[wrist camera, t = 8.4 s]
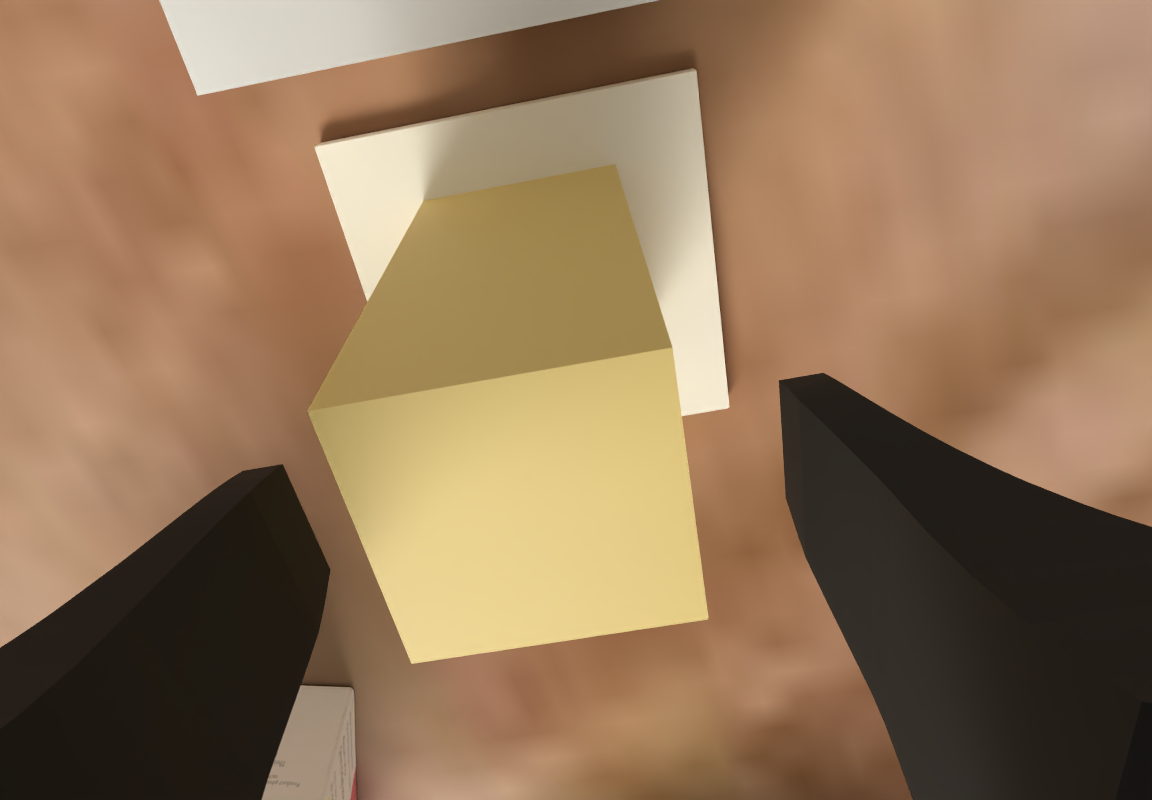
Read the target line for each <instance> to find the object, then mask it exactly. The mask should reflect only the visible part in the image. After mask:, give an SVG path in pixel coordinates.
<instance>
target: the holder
mask: <svg viewBox="0 0 1152 800" xmlns="http://www.w3.org/2000/svg"><path fill="white" fill-rule="evenodd" d="M159 1H160V3H161V5H162V8H163V10H164V13H165V15H166V18H167V20H168V23H169V25H170V28H171V30H172V33H173V35H174V38H175V40H176V43H177V45H178V48H179V50H180V53H181V55H182V58H183V60H184V63H185V65H186V68H187V70H188V73H189V75H190V78H191V80H192V83H193V85H194V87H195V90H196V92H197V95H203V94H208V93H213V92H218V91H222V90H227V89H232V88H237V87H242V86H247V85H251V84H256V83H261V82H266V81H271V80H276V79H281V78H285V77H290V76H295V75H300V74H305V73H310V72H314V71H319V70H324V69H329V68H334V67H339V66H343V65H348V64H353V63H358V62H363V61H368V60H372V59H377V58H382V57H387V56H392V55H397V54H401V53H406V52H411V51H416V50H421V49H426V48H430V47H435V46H440V45H445V44H450V43H455V42H460V41H464V40H469V39H474V38H479V37H484V36H489V35H493V34H498V33H503V32H508V31H513V30H518V29H522V28H527V27H532V26H537V25H542V24H547V23H551V22H556V21H561V20H566V19H571V18H576V17H580V16H585V15H590V14H595V13H600V12H605V11H610V10H614V9H619V8H624V7H629V6H634V5H639V4H643V3H648V2H653V1H658V0H159Z"/></svg>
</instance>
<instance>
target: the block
mask: <svg viewBox="0 0 1152 800" xmlns="http://www.w3.org/2000/svg"><path fill="white" fill-rule="evenodd" d="M307 412H308V414H309V417H310V419H311V422H312V424H313V426H314V429H315V431H316V434H317V436H318V438H319V441H320V443H321V446H322V448H323V451H324V453H325V455H326V458H327V460H328V463H329V465H330V468H331V470H332V472H333V475H334V477H335V480H336V482H337V484H338V487H339V489H340V492H341V494H342V497H343V499H344V501H345V504H346V506H347V509H348V511H349V513H350V516H351V518H352V521H353V523H354V526H355V528H356V530H357V533H358V535H359V538H360V540H361V543H362V545H363V547H364V550H365V552H366V555H367V557H368V559H369V562H370V564H371V567H372V569H373V572H374V574H375V576H376V579H377V581H378V584H379V586H380V588H381V591H382V593H383V596H384V598H385V601H386V603H387V605H388V608H389V610H390V613H391V615H392V618H393V620H394V622H395V625H396V627H397V630H398V632H399V634H400V637H401V639H402V642H403V644H404V647H405V649H406V651H407V654H408V656H409V659H410V661H411V663H412V664H414V663H420V662H427V661H434V660H440V659H447V658H454V657H460V656H467V655H474V654H480V653H487V652H493V651H500V650H507V649H513V648H520V647H527V646H533V645H540V644H547V643H553V642H560V641H567V640H573V639H580V638H587V637H593V636H600V635H607V634H613V633H620V632H627V631H633V630H640V629H647V628H653V627H660V626H667V625H673V624H680V623H686V622H693V621H700V620H706V619H708V612H707V604H706V597H705V589H704V582H703V574H702V567H701V559H700V551H699V544H698V536H697V529H696V521H695V514H694V506H693V498H692V491H691V483H690V476H689V468H688V461H687V453H686V445H685V438H684V430H683V423H682V415H681V408H680V400H679V393H678V385H677V377H676V370H675V362H674V355H673V347H672V344H671V341H670V338H669V335H668V331H667V328H666V325H665V322H664V319H663V315H662V312H661V309H660V306H659V303H658V299H657V296H656V293H655V290H654V287H653V283H652V280H651V277H650V274H649V271H648V268H647V264H646V261H645V258H644V255H643V252H642V248H641V245H640V242H639V239H638V236H637V232H636V229H635V226H634V223H633V220H632V216H631V213H630V210H629V207H628V204H627V200H626V197H625V194H624V191H623V188H622V184H621V181H620V178H619V175H618V172H617V169H616V165H615V164H613V165H608V166H603V167H598V168H592V169H587V170H582V171H577V172H571V173H566V174H561V175H556V176H550V177H545V178H540V179H535V180H530V181H524V182H519V183H514V184H509V185H503V186H498V187H493V188H488V189H482V190H477V191H472V192H467V193H461V194H456V195H451V196H446V197H441V198H435V199H430V200H425V201H423V202H422V204H421V206H420V208H419V209H418V211H417V213H416V215H415V217H414V219H413V220H412V222H411V224H410V226H409V228H408V229H407V231H406V233H405V235H404V237H403V238H402V240H401V242H400V244H399V246H398V248H397V249H396V251H395V253H394V255H393V257H392V258H391V260H390V262H389V264H388V266H387V267H386V269H385V271H384V273H383V275H382V277H381V278H380V280H379V282H378V284H377V286H376V287H375V289H374V291H373V293H372V295H371V296H370V298H369V300H368V302H367V304H366V306H365V307H364V309H363V311H362V313H361V315H360V316H359V318H358V320H357V322H356V324H355V325H354V327H353V329H352V331H351V333H350V334H349V336H348V338H347V340H346V342H345V344H344V345H343V347H342V349H341V351H340V353H339V354H338V356H337V358H336V360H335V362H334V363H333V365H332V367H331V369H330V371H329V373H328V374H327V376H326V378H325V380H324V382H323V383H322V385H321V387H320V389H319V391H318V392H317V394H316V396H315V398H314V400H313V402H312V403H311V405H310V407H309V409H308V411H307Z"/></svg>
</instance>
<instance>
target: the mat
mask: <svg viewBox="0 0 1152 800" xmlns="http://www.w3.org/2000/svg"><path fill="white" fill-rule="evenodd" d="M315 150H316V153H317V156H318V159H319V162H320V164H321V167H322V170H323V173H324V176H325V179H326V182H327V185H328V188H329V191H330V194H331V197H332V200H333V202H334V205H335V208H336V211H337V214H338V217H339V220H340V223H341V226H342V229H343V232H344V235H345V238H346V240H347V243H348V246H349V249H350V252H351V255H352V258H353V261H354V264H355V267H356V270H357V273H358V276H359V278H360V281H361V284H362V287H363V290H364V293H365V296H366V299H367V302H368V300H369V298H370V296H371V295H372V293H373V291H374V289H375V287H376V286H377V284H378V282H379V280H380V278H381V277H382V275H383V273H384V271H385V269H386V267H387V266H388V264H389V262H390V260H391V258H392V257H393V255H394V253H395V251H396V249H397V248H398V246H399V244H400V242H401V240H402V238H403V237H404V235H405V233H406V231H407V229H408V228H409V226H410V224H411V222H412V220H413V219H414V217H415V215H416V213H417V211H418V209H419V208H420V206H421V204H422V202H423V201H425V200H430V199H435V198H441V197H446V196H451V195H456V194H461V193H467V192H472V191H477V190H482V189H488V188H493V187H498V186H503V185H509V184H514V183H519V182H524V181H530V180H535V179H540V178H545V177H550V176H556V175H561V174H566V173H571V172H577V171H582V170H587V169H592V168H598V167H603V166H608V165H613V164H615V165H616V169H617V172H618V175H619V178H620V181H621V184H622V188H623V191H624V194H625V197H626V200H627V204H628V207H629V210H630V213H631V216H632V220H633V223H634V226H635V229H636V232H637V236H638V239H639V242H640V245H641V248H642V252H643V255H644V258H645V261H646V264H647V268H648V271H649V274H650V277H651V280H652V283H653V287H654V290H655V293H656V296H657V299H658V303H659V306H660V309H661V312H662V315H663V319H664V322H665V325H666V328H667V331H668V335H669V338H670V341H671V344H672V347H673V355H674V362H675V370H676V377H677V385H678V393H679V400H680V408H681V415H682V416H685V415H691V414H697V413H703V412H708V411H714V410H720V409H726V408H729V398H728V388H727V378H726V368H725V358H724V347H723V337H722V327H721V317H720V306H719V296H718V286H717V276H716V266H715V255H714V245H713V235H712V225H711V214H710V204H709V194H708V184H707V174H706V163H705V153H704V143H703V133H702V122H701V112H700V102H699V92H698V82H697V71H696V70H695V69H694V68H692V69H687V70H682V71H677V72H672V73H667V74H662V75H657V76H652V77H647V78H642V79H637V80H632V81H627V82H622V83H617V84H612V85H607V86H602V87H597V88H592V89H587V90H582V91H577V92H572V93H567V94H562V95H557V96H552V97H547V98H542V99H537V100H532V101H527V102H522V103H517V104H512V105H507V106H502V107H497V108H492V109H487V110H482V111H477V112H472V113H467V114H462V115H457V116H452V117H447V118H442V119H437V120H432V121H427V122H422V123H417V124H412V125H407V126H402V127H397V128H392V129H387V130H382V131H377V132H372V133H367V134H362V135H357V136H352V137H347V138H342V139H337V140H332V141H327V142H322V143H319V144H317V145H316V146H315Z"/></svg>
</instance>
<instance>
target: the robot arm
mask: <svg viewBox="0 0 1152 800" xmlns="http://www.w3.org/2000/svg"><path fill="white" fill-rule="evenodd" d="M779 390H780V406H781V423H782V440H783V457H784V474H785V490H786V500H787V503H788V506H789V509H790V512H791V515H792V518H793V521H794V524H795V527H796V531H797V533H798V536H799V539H800V542H801V545H802V548H803V551H804V554H805V557H806V559H807V561H808V563H809V565H810V568H811V570H812V572H813V574H814V576H815V578H816V580H817V582H818V584H819V586H820V588H821V590H822V592H823V595H824V597H825V599H826V601H827V603H828V605H829V607H830V609H831V611H832V613H833V615H834V617H835V619H836V621H837V623H838V625H839V627H840V629H841V631H842V633H843V635H844V638H845V640H846V642H847V644H848V646H849V648H850V650H851V652H852V654H853V656H854V658H855V660H856V662H857V664H858V666H859V668H860V670H861V672H862V674H863V676H864V678H865V680H866V682H867V684H868V686H869V689H870V691H871V693H872V695H873V697H874V700H875V702H876V704H877V706H878V709H879V711H880V713H881V716H882V718H883V720H884V722H885V725H886V728H887V730H888V733H889V736H890V738H891V741H892V744H893V746H894V749H895V752H896V755H897V757H898V760H899V763H900V765H901V768H902V771H903V774H904V776H905V779H906V782H907V784H908V787H909V790H910V792H911V795H912V798H913V800H1152V527H1150V526H1147V525H1144V524H1140V523H1137V522H1134V521H1131V520H1128V519H1125V518H1121V517H1118V516H1115V515H1112V514H1110V513H1107V512H1104V511H1101V510H1098V509H1095V508H1093V507H1090V506H1087V505H1084V504H1081V503H1079V502H1076V501H1074V500H1071V499H1069V498H1066V497H1064V496H1061V495H1059V494H1056V493H1054V492H1051V491H1049V490H1046V489H1044V488H1041V487H1038V486H1036V485H1033V484H1031V483H1028V482H1026V481H1024V480H1021V479H1019V478H1017V477H1015V476H1012V475H1010V474H1008V473H1005V472H1003V471H1001V470H999V469H997V468H995V467H993V466H990V465H988V464H986V463H984V462H982V461H980V460H978V459H976V458H974V457H972V456H970V455H968V454H966V453H964V452H962V451H960V450H958V449H956V448H954V447H952V446H950V445H948V444H946V443H944V442H942V441H940V440H938V439H937V438H935V437H933V436H931V435H929V434H927V433H925V432H924V431H922V430H920V429H918V428H916V427H915V426H913V425H911V424H909V423H908V422H906V421H904V420H902V419H901V418H899V417H897V416H896V415H894V414H892V413H890V412H889V411H887V410H885V409H884V408H882V407H880V406H879V405H877V404H875V403H874V402H872V401H870V400H869V399H867V398H865V397H864V396H862V395H860V394H859V393H857V392H855V391H854V390H852V389H850V388H849V387H847V386H845V385H844V384H842V383H840V382H839V381H837V380H835V379H834V378H832V377H830V376H828V375H826V374H824V373H820V374H814V375H808V376H802V377H797V378H791V379H785V380H779ZM329 575H330V568H329V566H328V564H327V561H326V559H325V557H324V555H323V553H322V550H321V548H320V546H319V544H318V541H317V539H316V537H315V535H314V533H313V530H312V528H311V526H310V524H309V522H308V519H307V517H306V515H305V513H304V511H303V508H302V506H301V504H300V502H299V499H298V497H297V495H296V493H295V491H294V488H293V486H292V484H291V482H290V480H289V477H288V475H287V473H286V471H285V468H284V466H283V464H282V465H276V466H270V467H264V468H258V469H252V470H246V471H242V472H241V473H239V474H237V475H236V476H234V477H232V478H231V479H229V480H228V481H226V482H225V483H223V484H222V485H220V486H219V487H218V488H216V489H215V490H213V491H212V492H211V493H209V494H208V495H207V496H205V497H204V498H203V499H201V500H200V501H199V502H198V503H196V504H195V505H194V506H192V507H191V508H190V509H188V510H187V511H186V512H185V513H183V514H182V515H181V516H179V517H178V518H177V519H176V520H174V521H173V522H172V523H171V524H169V525H168V526H167V527H165V528H164V529H163V530H162V531H160V532H159V533H158V534H156V535H155V536H154V537H153V538H151V539H150V540H149V541H148V542H146V543H145V544H144V545H142V546H141V547H140V548H139V549H137V550H136V551H135V552H134V553H132V554H131V555H130V556H128V557H127V558H126V559H125V560H123V561H122V562H121V563H119V564H118V565H117V566H115V567H114V568H113V569H111V570H110V571H108V572H107V573H106V574H104V575H103V576H102V577H100V578H99V579H98V580H96V581H95V582H94V583H92V584H91V585H89V586H88V587H87V588H85V589H84V590H83V591H81V592H80V593H79V594H77V595H76V596H75V597H73V598H72V599H70V600H69V601H68V602H66V603H65V604H64V605H62V606H61V607H60V608H58V609H57V610H56V611H54V612H53V613H51V614H50V615H48V616H47V617H46V618H44V619H43V620H41V621H40V622H38V623H37V624H35V625H34V626H33V627H31V628H30V629H28V630H27V631H25V632H24V633H22V634H21V635H19V636H18V637H16V638H15V639H13V640H12V641H10V642H8V643H7V644H5V645H4V646H2V647H1V648H0V800H262V797H263V794H264V790H265V787H266V784H267V780H268V777H269V774H270V771H271V768H272V766H273V763H274V760H275V757H276V754H277V751H278V748H279V746H280V743H281V740H282V737H283V734H284V731H285V729H286V726H287V723H288V720H289V717H290V714H291V711H292V709H293V706H294V703H295V700H296V697H297V694H298V692H299V689H300V686H301V683H302V680H303V677H304V674H305V671H306V668H307V665H308V663H309V660H310V657H311V654H312V651H313V648H314V645H315V642H316V639H317V635H318V632H319V628H320V623H321V619H322V614H323V609H324V604H325V598H326V593H327V587H328V581H329Z"/></svg>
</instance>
